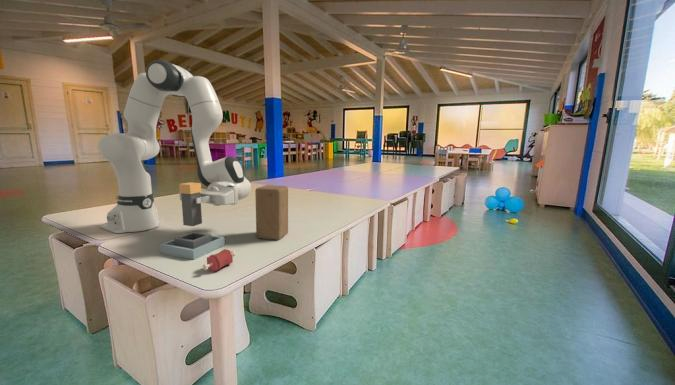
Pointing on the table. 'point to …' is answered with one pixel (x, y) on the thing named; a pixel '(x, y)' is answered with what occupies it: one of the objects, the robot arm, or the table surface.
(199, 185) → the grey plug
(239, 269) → the table surface
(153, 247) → the table surface
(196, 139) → the robot arm
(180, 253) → the box
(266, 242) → the table surface
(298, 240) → the table surface
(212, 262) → the meat
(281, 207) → the wooden block
